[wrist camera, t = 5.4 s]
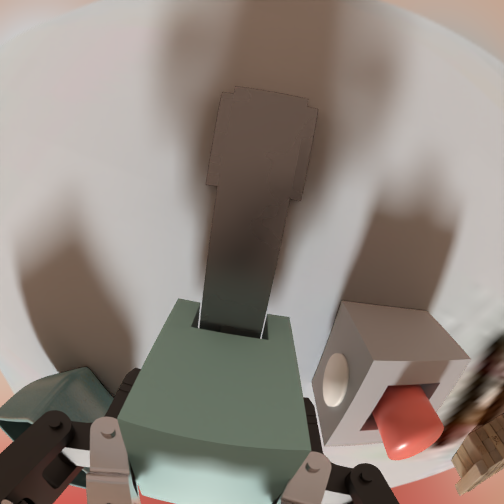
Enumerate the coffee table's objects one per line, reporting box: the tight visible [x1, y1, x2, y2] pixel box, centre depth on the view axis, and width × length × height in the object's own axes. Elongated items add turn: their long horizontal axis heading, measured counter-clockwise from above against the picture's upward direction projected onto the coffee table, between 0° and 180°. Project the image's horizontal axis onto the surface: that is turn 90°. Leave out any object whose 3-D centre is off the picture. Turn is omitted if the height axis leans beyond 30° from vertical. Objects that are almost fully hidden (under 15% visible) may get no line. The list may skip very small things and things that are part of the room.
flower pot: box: [0, 367, 114, 489], centre depth 16 cm, size 9×9×9 cm
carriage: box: [117, 298, 311, 504], centre depth 10 cm, size 5×6×7 cm
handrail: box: [199, 86, 318, 339], centre depth 15 cm, size 5×26×6 cm, turn 170°
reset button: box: [372, 384, 444, 460], centre depth 12 cm, size 3×3×4 cm
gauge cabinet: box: [312, 301, 471, 447], centre depth 15 cm, size 7×7×6 cm
